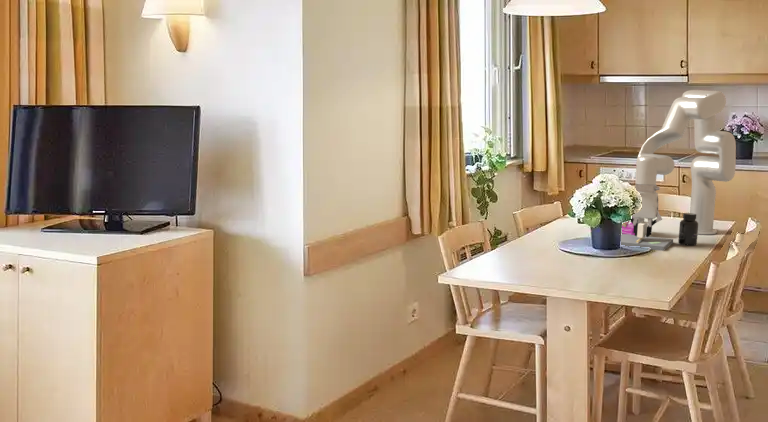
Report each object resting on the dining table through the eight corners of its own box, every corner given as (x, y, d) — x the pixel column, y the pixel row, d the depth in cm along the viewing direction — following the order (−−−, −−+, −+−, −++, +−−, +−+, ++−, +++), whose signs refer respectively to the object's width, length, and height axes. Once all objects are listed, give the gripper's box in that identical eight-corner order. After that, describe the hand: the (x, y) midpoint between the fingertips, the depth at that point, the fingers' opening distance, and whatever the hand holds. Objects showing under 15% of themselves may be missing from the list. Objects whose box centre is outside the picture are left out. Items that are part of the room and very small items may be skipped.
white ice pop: (641, 237, 347) (642, 221, 347) (646, 237, 347) (648, 221, 346) (634, 242, 337) (635, 226, 336) (639, 242, 336) (640, 226, 335)
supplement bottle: (698, 246, 341) (700, 215, 339) (679, 245, 342) (681, 214, 340) (695, 243, 347) (697, 212, 346) (677, 242, 349) (679, 211, 347)
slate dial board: (621, 237, 356) (621, 233, 356) (673, 242, 347) (673, 238, 347) (609, 244, 341) (609, 240, 341) (663, 250, 331) (663, 246, 331)
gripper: (669, 189, 340) (666, 236, 343) (625, 185, 348) (622, 232, 351) (665, 191, 333) (662, 239, 336) (620, 187, 341) (617, 235, 344)
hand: (642, 235), depth 343 cm, fingers open, 3 cm apart
